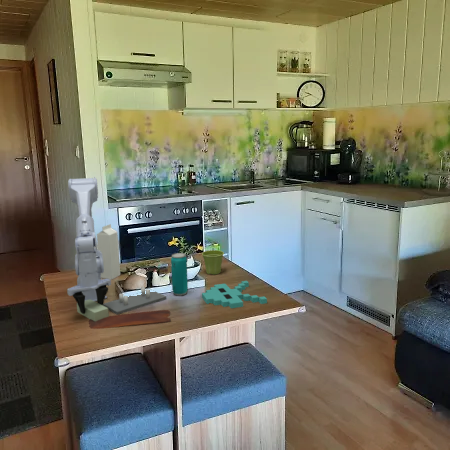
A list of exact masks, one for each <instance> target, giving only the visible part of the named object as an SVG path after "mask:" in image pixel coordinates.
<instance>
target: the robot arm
mask: <svg viewBox="0 0 450 450" xmlns="http://www.w3.org/2000/svg"><path fill="white" fill-rule="evenodd" d="M67 186H68V194H69V197H70V200H71V202H72V203H73V204H75V205H77V208H78V215H79V216H78V217H77V218H76V220H75V231H76V235H75V237H76V238H74V239H75V240H74V245H75V255H74V268H75V275H77V280H76V282H77V285H74V286H72V287H69V288H67V290H66V291H67V295H68V296H69V297H71V296H72V297H73V299H74V300H75V301H76V305H77V304H78V306H79V308H80V312H81V313H82V314H85V301H86V300H89V299H91V300H93V301H95V302H97V303H99V304H101V305H103V304H104V303H105V299H107V298H108V296H107V293H108V292H109V286H111V285H112V279H106V278H101V273H103V272H104V264H103V256H102V253H101V251H99V250H98V241H97V235H96V232H95V221H94V217H93V215H92V214H93V212H92V208H93V203H96V202H97V201H98V198H99V189H98V179H97V177H95V176H94V177H88V178H87V177H85V178H84V177H83V178H69V179H68V181H67ZM107 286H108V287H107ZM82 314H81V315H82Z"/></svg>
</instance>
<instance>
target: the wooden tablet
mask: <svg viewBox="0 0 450 450" xmlns="http://www.w3.org/2000/svg"><path fill="white" fill-rule="evenodd" d="M170 316H171V310H169V309H161V310H152V311H151V310H149V311H142V312H132V313H121V314H118V315H117V314H115V315H109V317H106V318H103V319H100V320H97V321H93V320H91V319H89V318H88V325H89V326H88V327H89V329H90V330H91V329H93V330H97V329H98V330H99V329H100V330H103V329H111V328H112V329H113V328H122V327H132V326H141V325H142V326H143V325H155V324H156V325H157V324H165V323H170V322H172V319H171V318H170Z"/></svg>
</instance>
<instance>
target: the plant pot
mask: <svg viewBox="0 0 450 450" xmlns="http://www.w3.org/2000/svg"><path fill="white" fill-rule="evenodd" d="M224 255H225V251H222V250H215V249H213V250H212V249H211V250H205V251H203V252H202V253H201V256H202V258H203V262H204V265H205V266H204V267H205V271H206V274H208V275H218V274H221V272H222V271H221V270H222V262H223V257H224Z"/></svg>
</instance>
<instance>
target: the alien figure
mask: <svg viewBox="0 0 450 450" xmlns="http://www.w3.org/2000/svg"><path fill="white" fill-rule="evenodd" d="M249 286H250V283H249V281H248V280H241V282H240V283H238V284H237V285H236V286H234V287H233V288H230V287H229V286H228V285H227V283H218V284H214V285H213V286H212V287H210V288H209V289H206V290H205V292H202V293H201V298H202V300H203V301H204V302H205V304H207V305H210V304H209V303H211V304H213V305H214V306H223V308H225V307H229V308H230V309H236V308H238V309H239V308H243V307H244V302H249V301H250V302H252V303H253V304H254V303H259V304H260V305H264V304H267V303H268V299H267V297H266V296H258V295H257V294H254V295H250V294H249V293H242V292H243V290H244V291H245V290H246V288H250V287H249Z"/></svg>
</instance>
